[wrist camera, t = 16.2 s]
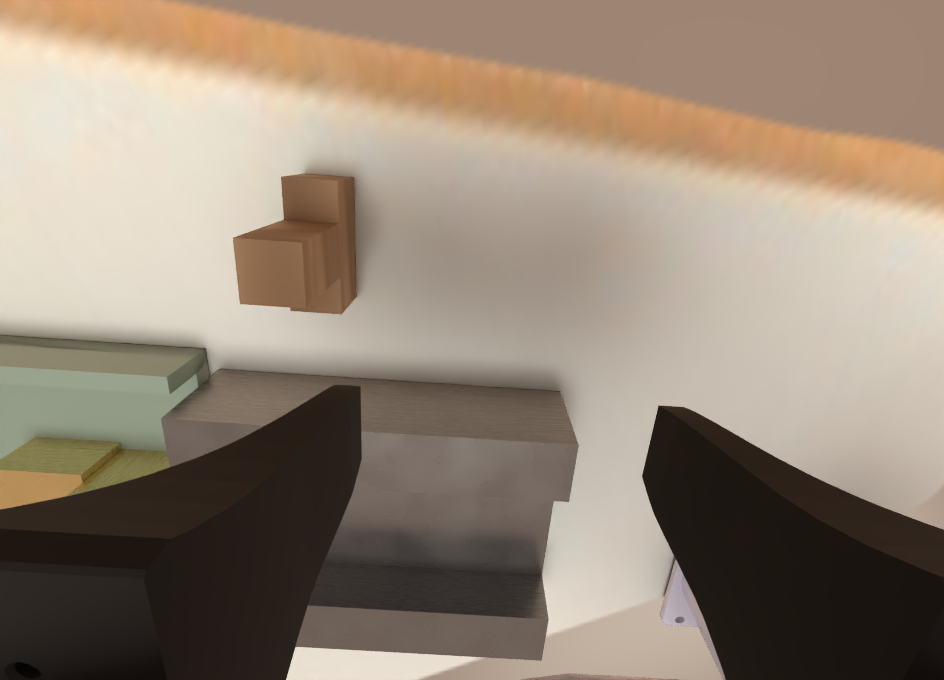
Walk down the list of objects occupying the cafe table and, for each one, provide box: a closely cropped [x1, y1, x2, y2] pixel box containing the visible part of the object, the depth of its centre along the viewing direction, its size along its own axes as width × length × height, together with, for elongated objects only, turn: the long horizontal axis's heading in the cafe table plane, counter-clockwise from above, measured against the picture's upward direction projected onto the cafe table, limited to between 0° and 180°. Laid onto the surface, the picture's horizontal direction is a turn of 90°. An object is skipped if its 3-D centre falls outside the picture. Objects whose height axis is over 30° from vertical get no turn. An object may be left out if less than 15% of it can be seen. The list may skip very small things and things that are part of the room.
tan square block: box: [67, 449, 170, 496], centre depth 22 cm, size 4×4×2 cm
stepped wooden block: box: [233, 174, 356, 314], centre depth 17 cm, size 2×5×6 cm, turn 176°
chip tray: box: [0, 335, 209, 459], centre depth 23 cm, size 13×14×3 cm
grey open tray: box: [161, 369, 578, 660], centre depth 23 cm, size 16×12×4 cm
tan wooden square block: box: [0, 437, 122, 509], centre depth 23 cm, size 4×4×2 cm
